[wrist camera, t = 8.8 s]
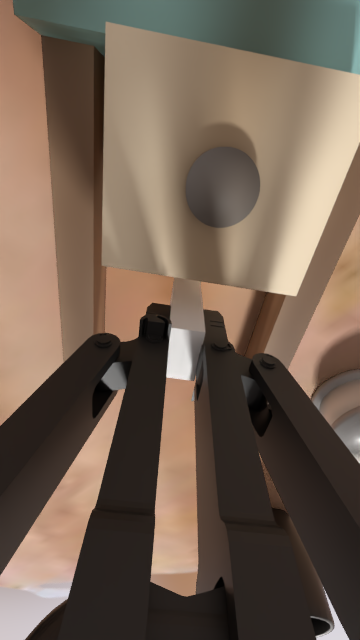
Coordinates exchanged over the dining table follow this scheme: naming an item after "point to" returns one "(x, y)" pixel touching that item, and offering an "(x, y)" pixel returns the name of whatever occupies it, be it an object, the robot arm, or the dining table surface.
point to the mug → (307, 578)
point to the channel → (88, 134)
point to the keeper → (220, 159)
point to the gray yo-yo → (342, 407)
